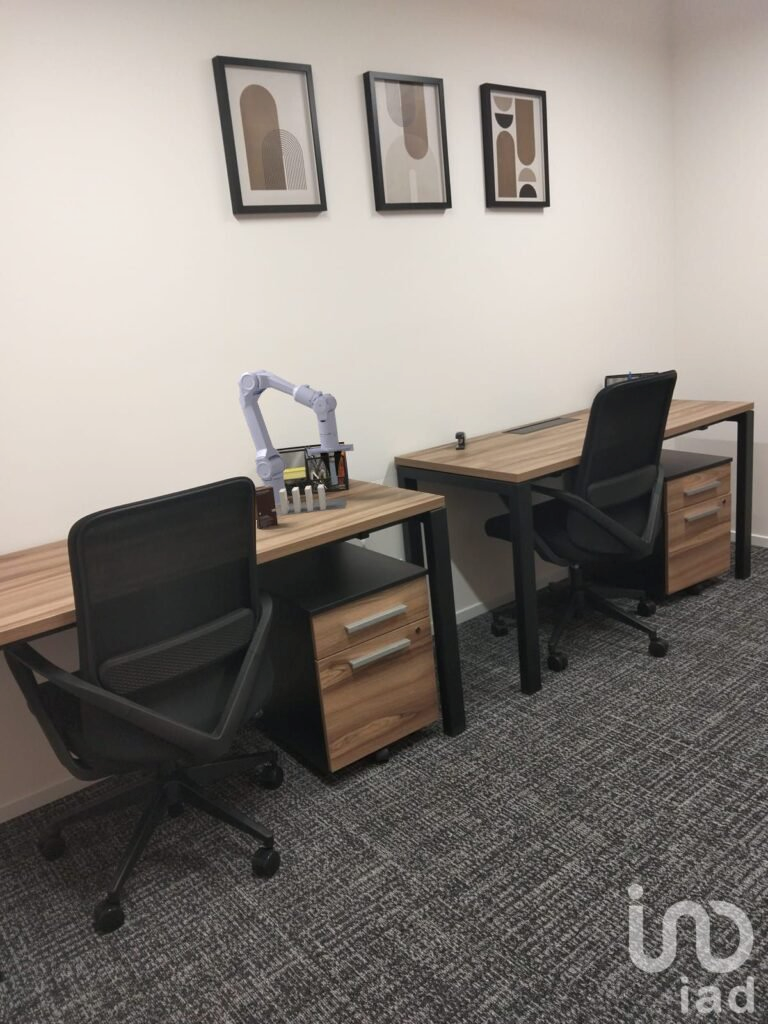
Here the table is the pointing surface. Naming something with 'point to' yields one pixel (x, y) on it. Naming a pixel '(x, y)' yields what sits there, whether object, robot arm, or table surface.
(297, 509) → the tile
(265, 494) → the box
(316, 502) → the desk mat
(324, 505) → the tile
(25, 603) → the table surface
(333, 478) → the end tile
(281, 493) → the tile
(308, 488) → the tile
